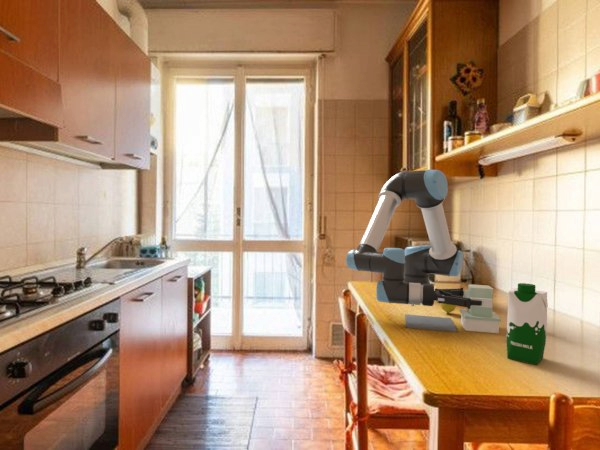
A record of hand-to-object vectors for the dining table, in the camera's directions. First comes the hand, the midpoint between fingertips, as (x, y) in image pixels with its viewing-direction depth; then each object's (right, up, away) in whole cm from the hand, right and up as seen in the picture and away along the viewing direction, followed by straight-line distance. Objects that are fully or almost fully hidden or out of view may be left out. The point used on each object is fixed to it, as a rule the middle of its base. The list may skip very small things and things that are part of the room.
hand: (487, 299), depth 133 cm
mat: (-18, -9, +5) cm, 21 cm away
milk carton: (-3, -11, -27) cm, 30 cm away
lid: (-2, -6, +1) cm, 6 cm away
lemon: (-6, -9, +20) cm, 23 cm away
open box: (-3, -10, +1) cm, 10 cm away
